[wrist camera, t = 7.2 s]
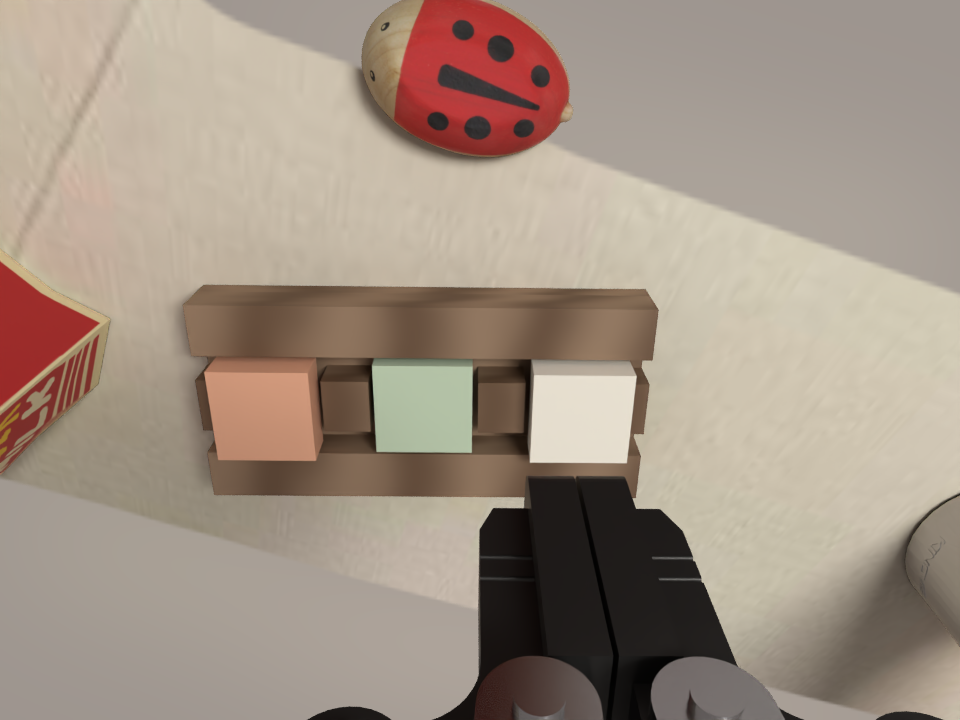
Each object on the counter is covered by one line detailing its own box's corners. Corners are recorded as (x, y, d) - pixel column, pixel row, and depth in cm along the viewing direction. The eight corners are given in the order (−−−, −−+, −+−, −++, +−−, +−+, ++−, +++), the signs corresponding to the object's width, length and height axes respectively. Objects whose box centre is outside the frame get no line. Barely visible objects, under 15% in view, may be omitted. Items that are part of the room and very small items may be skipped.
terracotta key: (315, 356, 37) (307, 373, 36) (323, 440, 40) (315, 460, 38) (217, 355, 37) (204, 372, 36) (230, 439, 39) (218, 460, 38)
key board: (645, 289, 38) (658, 309, 36) (625, 467, 43) (635, 497, 40) (203, 285, 38) (182, 305, 35) (231, 464, 43) (214, 494, 40)
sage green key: (472, 350, 38) (472, 366, 37) (472, 433, 40) (471, 452, 39) (376, 349, 38) (371, 365, 36) (381, 432, 40) (376, 451, 39)
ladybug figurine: (378, -32, 32) (367, -38, 29) (592, 28, 33) (605, 29, 30) (352, 122, 35) (339, 133, 32) (550, 173, 36) (558, 188, 33)
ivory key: (629, 359, 38) (636, 376, 36) (619, 443, 40) (626, 463, 38) (531, 358, 38) (534, 375, 36) (527, 442, 40) (529, 462, 38)
